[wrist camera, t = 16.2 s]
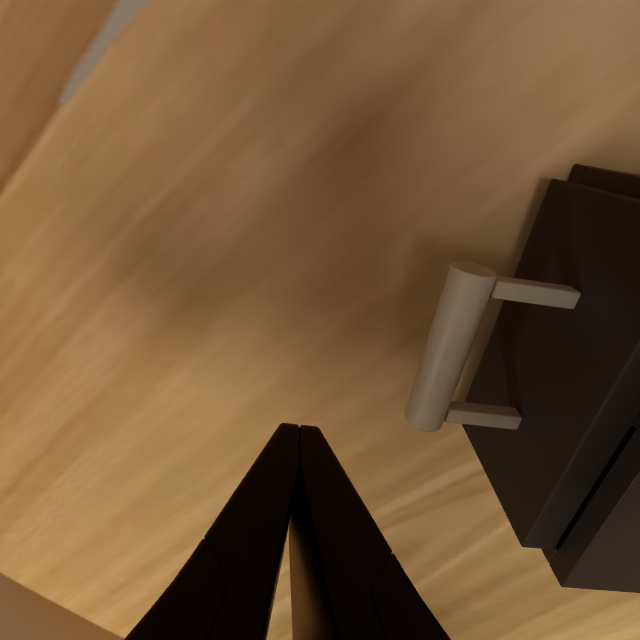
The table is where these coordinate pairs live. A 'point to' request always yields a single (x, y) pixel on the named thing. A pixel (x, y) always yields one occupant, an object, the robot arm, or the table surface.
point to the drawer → (545, 359)
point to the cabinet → (605, 483)
